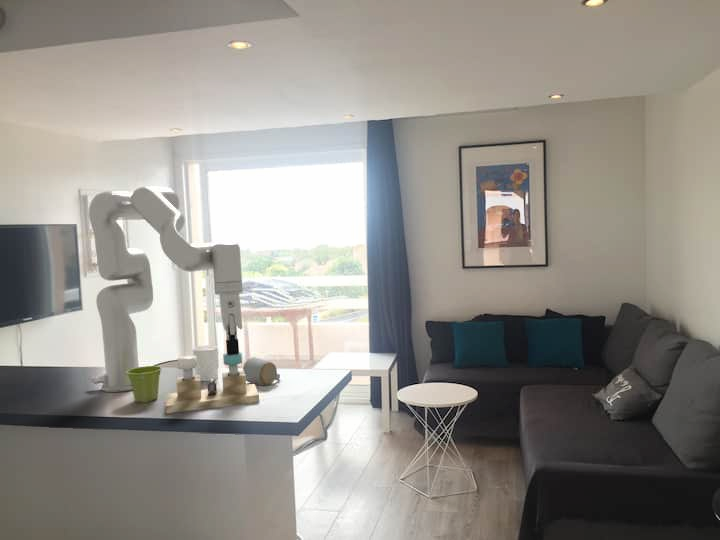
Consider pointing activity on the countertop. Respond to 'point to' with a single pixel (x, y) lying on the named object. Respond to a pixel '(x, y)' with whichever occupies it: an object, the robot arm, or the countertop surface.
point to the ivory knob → (187, 366)
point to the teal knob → (232, 362)
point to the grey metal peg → (212, 387)
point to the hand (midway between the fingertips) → (233, 353)
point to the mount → (196, 398)
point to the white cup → (206, 362)
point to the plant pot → (145, 382)
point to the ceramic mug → (260, 371)
